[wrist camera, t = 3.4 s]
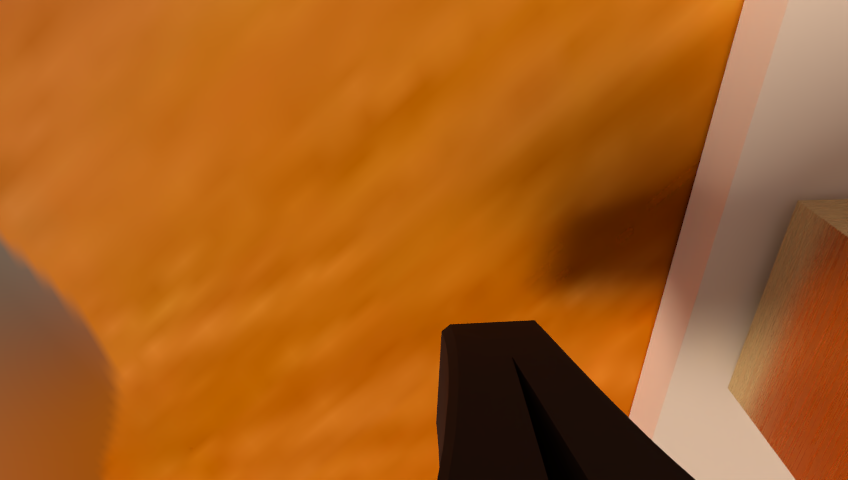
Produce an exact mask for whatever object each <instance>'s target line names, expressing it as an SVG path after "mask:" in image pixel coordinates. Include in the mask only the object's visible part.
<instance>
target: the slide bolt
mask: <svg viewBox="0 0 848 480" xmlns="http://www.w3.org/2000/svg"><path fill="white" fill-rule="evenodd" d="M728 389H729V391H730V392H731V393H732V395H733V396H734V397H735V399H736V400H737V401H738V403H739V404H740V405H741V407H742V408H743V409H744V411H745V412H746V413H747V415H748V416H749V417H750V419H751V420H752V422H753V423H754V424H755V426H756V427H757V428H758V430H759V431H760V432H761V434H762V435H763V436H764V438H765V439H766V440H767V442H768V443H769V444H770V446H771V447H772V449H773V450H774V451H775V453H776V454H777V455H778V457H779V458H780V459H781V461H782V462H783V463H784V465H785V466H786V467H787V469H788V470H789V471H790V473H791V474H792V476H793V477H794V478H795V480H848V199H833V200H798V202H797V204H796V207H795V210H794V212H793V215H792V218H791V220H790V223H789V226H788V228H787V231H786V234H785V236H784V239H783V242H782V244H781V247H780V250H779V252H778V255H777V258H776V260H775V263H774V266H773V268H772V271H771V273H770V276H769V279H768V281H767V284H766V287H765V289H764V292H763V295H762V297H761V300H760V303H759V305H758V308H757V311H756V313H755V316H754V319H753V321H752V324H751V327H750V329H749V332H748V335H747V337H746V340H745V343H744V345H743V348H742V351H741V353H740V356H739V359H738V361H737V364H736V367H735V369H734V372H733V375H732V377H731V380H730V382H729V385H728Z"/></svg>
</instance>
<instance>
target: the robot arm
mask: <svg viewBox="0 0 848 480" xmlns="http://www.w3.org/2000/svg"><path fill="white" fill-rule="evenodd" d="M436 424H437V434H438V446H439V466H440V468H439V473H438V479H437V480H695V479H694V478H693V477H692V476H691V475H690V474H689V473H687V472H686V471H685V470H684V469H683V468H682V467H681V466H679V465H678V464H677V463H676V462H675V461H674V460H673V459H672V458H670V457H669V456H668V455H667V454H666V453H665V452H664V451H663V450H662V449H661V448H660V447H659V446H658V445H656V444H655V443H654V442H653V441H652V440H651V439H650V438H649V437H648V436H647V435H646V434H645V433H644V432H643V431H642V430H641V429H640V428H639V427H638V426H637V425H636V424H635V423H634V422H633V421H632V420H631V419H629V418H628V417H627V416H626V415H625V414H624V413H623V412H622V411H621V410H620V409H619V408H618V407H617V406H616V405H615V404H614V403H613V402H612V401H611V400H610V399H609V398H608V397H607V396H606V395H605V394H604V393H603V392H602V391H601V390H600V389H599V388H598V387H597V386H596V385H595V384H594V382H593V381H592V380H591V379H590V378H589V377H588V376H587V375H586V374H585V373H584V372H583V371H582V370H581V369H580V368H579V367H578V366H577V365H576V364H575V363H574V362H573V360H572V359H571V358H570V357H569V356H568V355H567V354H566V353H565V352H564V351H563V350H562V349H561V348H560V347H559V346H558V344H557V343H556V342H555V341H554V340H553V339H552V338H551V337H550V336H549V335H548V334H547V333H546V332H545V331H544V330H543V329H542V328H541V327H540V326H539V325H538V324H537V323H536V322H535V320H531V321H511V322H491V323H471V324H450V325H449V326H448V327H447V328H445V329H444V330H443V331H442V335H441V352H440V369H439V387H438V404H437V421H436Z"/></svg>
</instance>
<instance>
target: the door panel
mask: <svg viewBox="0 0 848 480" xmlns="http://www.w3.org/2000/svg"><path fill="white" fill-rule="evenodd" d="M833 199H848V0H745V1H744V4H743V8H742V12H741V15H740V19H739V22H738V26H737V30H736V33H735V37H734V40H733V44H732V48H731V51H730V55H729V58H728V62H727V66H726V69H725V73H724V76H723V80H722V84H721V87H720V91H719V94H718V98H717V102H716V105H715V109H714V113H713V116H712V120H711V123H710V127H709V131H708V134H707V138H706V141H705V145H704V149H703V152H702V156H701V159H700V163H699V167H698V170H697V174H696V177H695V181H694V185H693V188H692V192H691V195H690V199H689V203H688V206H687V210H686V213H685V217H684V221H683V224H682V228H681V231H680V235H679V239H678V242H677V246H676V249H675V253H674V257H673V260H672V264H671V268H670V271H669V275H668V278H667V282H666V286H665V289H664V293H663V296H662V300H661V304H660V307H659V311H658V314H657V318H656V322H655V325H654V329H653V332H652V336H651V340H650V343H649V347H648V350H647V354H646V358H645V361H644V365H643V368H642V372H641V376H640V379H639V383H638V386H637V390H636V394H635V397H634V401H633V405H632V408H631V412H630V415H629V419H631V420H632V421H633V422H634V423H635V424H636V425H637V426H638V427H639V428H640V429H641V430H642V431H643V432H644V433H645V434H646V435H647V436H648V437H649V438H650V439H651V440H652V441H653V442H654V443H655V444H656V445H658V446H659V447H660V448H661V449H662V450H663V451H664V452H665V453H666V454H667V455H668V456H669V457H670V458H672V459H673V460H674V461H675V462H676V463H677V464H678V465H679V466H681V467H682V468H683V469H684V470H685V471H686V472H687V473H689V474H690V475H691V476H692V477H693V478H694V479H695V480H795V478H794V477H793V476H792V474H791V473H790V471H789V470H788V469H787V467H786V466H785V465H784V463H783V462H782V461H781V459H780V458H779V457H778V455H777V454H776V453H775V451H774V450H773V449H772V447H771V446H770V444H769V443H768V442H767V440H766V439H765V438H764V436H763V435H762V434H761V432H760V431H759V430H758V428H757V427H756V426H755V424H754V423H753V422H752V420H751V419H750V417H749V416H748V415H747V413H746V412H745V411H744V409H743V408H742V407H741V405H740V404H739V403H738V401H737V400H736V399H735V397H734V396H733V395H732V393H731V392H730V391H729V389H728V385H729V382H730V380H731V377H732V375H733V372H734V369H735V367H736V364H737V361H738V359H739V356H740V353H741V351H742V348H743V345H744V343H745V340H746V337H747V335H748V332H749V329H750V327H751V324H752V321H753V319H754V316H755V313H756V311H757V308H758V305H759V303H760V300H761V297H762V295H763V292H764V289H765V287H766V284H767V281H768V279H769V276H770V273H771V271H772V268H773V266H774V263H775V260H776V258H777V255H778V252H779V250H780V247H781V244H782V242H783V239H784V236H785V234H786V231H787V228H788V226H789V223H790V220H791V218H792V215H793V212H794V210H795V207H796V204H797V202H798V200H833Z"/></svg>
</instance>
